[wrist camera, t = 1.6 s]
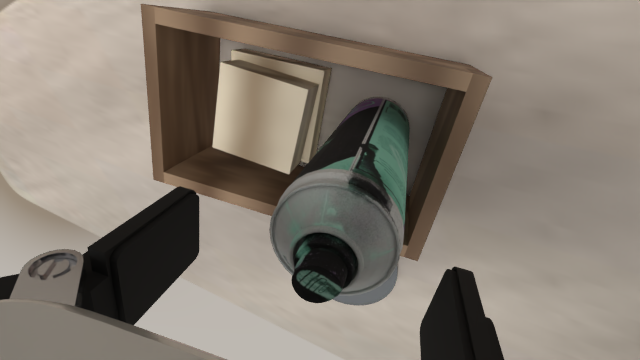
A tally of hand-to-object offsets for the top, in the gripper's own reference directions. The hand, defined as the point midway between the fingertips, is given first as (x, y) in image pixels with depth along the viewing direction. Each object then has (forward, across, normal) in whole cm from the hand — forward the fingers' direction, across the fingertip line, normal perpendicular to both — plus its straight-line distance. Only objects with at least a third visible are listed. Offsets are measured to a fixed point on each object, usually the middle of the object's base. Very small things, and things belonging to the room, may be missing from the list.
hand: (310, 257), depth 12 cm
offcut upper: (+16, +8, 0) cm, 18 cm away
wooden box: (+19, +5, 0) cm, 19 cm away
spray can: (+19, -1, 0) cm, 19 cm away
